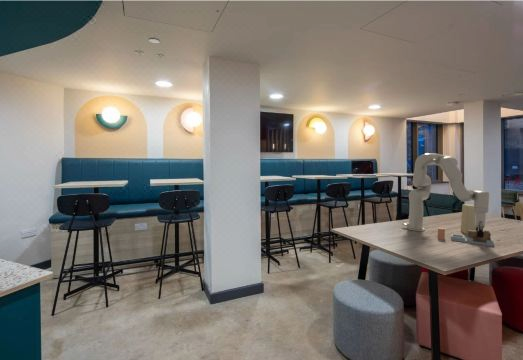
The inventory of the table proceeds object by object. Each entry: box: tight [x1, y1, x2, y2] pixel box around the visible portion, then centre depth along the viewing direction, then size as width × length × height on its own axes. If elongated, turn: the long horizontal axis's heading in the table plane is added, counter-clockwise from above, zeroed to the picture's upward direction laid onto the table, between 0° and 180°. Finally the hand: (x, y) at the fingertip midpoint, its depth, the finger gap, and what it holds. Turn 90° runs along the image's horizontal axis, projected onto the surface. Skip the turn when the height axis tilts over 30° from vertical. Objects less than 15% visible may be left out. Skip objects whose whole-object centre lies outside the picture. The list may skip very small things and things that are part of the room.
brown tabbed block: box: [467, 229, 492, 242], centre depth 185 cm, size 12×5×7 cm, turn 57°
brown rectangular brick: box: [437, 227, 446, 240], centre depth 193 cm, size 4×4×7 cm
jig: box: [450, 233, 495, 247], centre depth 186 cm, size 22×9×3 cm, turn 57°
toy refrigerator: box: [460, 203, 476, 235], centre depth 206 cm, size 8×7×21 cm
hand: (479, 235), depth 184 cm, fingers open, 9 cm apart
